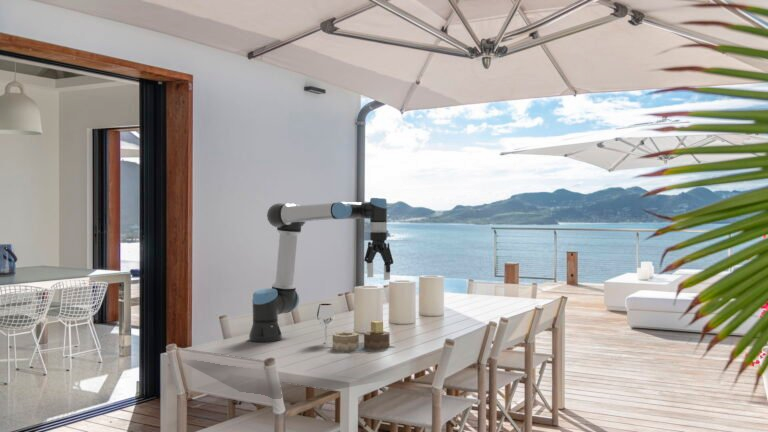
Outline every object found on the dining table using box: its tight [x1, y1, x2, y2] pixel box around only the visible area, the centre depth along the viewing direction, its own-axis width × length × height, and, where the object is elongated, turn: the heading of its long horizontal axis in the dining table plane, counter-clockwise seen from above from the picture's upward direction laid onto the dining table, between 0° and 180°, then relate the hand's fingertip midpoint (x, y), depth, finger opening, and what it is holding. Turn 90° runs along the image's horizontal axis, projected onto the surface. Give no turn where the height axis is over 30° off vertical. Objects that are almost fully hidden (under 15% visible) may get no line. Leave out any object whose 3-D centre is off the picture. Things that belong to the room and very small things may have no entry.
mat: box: [327, 341, 395, 355], centre depth 292 cm, size 24×18×1 cm
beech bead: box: [332, 331, 360, 351], centre depth 291 cm, size 11×11×6 cm
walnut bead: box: [363, 330, 391, 350], centre depth 293 cm, size 11×11×6 cm
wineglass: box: [316, 303, 336, 344], centre depth 304 cm, size 8×8×18 cm
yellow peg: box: [370, 320, 384, 334], centre depth 293 cm, size 4×4×11 cm
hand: (378, 278), depth 302 cm, fingers open, 13 cm apart
